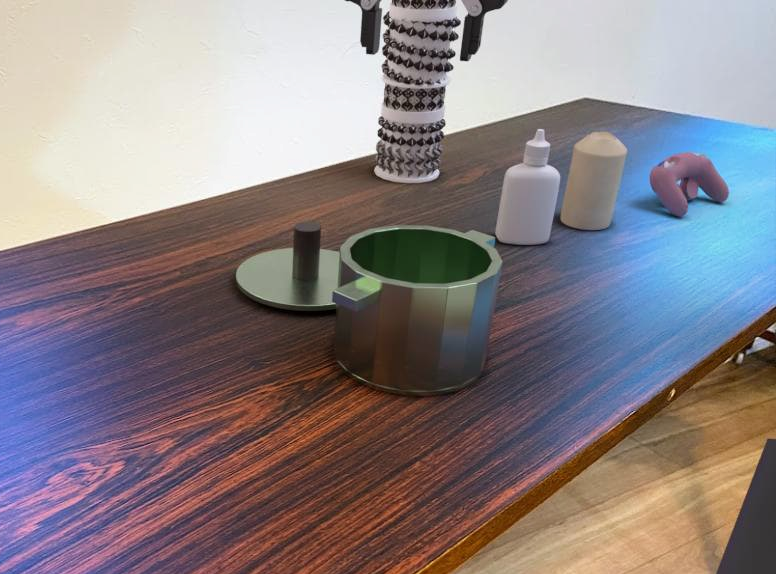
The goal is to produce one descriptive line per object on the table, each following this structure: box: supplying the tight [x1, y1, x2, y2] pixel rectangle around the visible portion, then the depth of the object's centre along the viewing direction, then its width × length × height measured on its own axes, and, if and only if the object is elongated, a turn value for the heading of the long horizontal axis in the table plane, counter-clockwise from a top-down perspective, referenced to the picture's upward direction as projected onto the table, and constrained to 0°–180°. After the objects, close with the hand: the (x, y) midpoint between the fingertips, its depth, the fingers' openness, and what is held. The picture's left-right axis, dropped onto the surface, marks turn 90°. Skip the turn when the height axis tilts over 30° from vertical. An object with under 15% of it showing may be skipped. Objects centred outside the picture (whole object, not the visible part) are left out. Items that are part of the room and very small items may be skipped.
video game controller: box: [649, 151, 730, 218], centre depth 108 cm, size 10×5×7 cm, turn 124°
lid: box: [235, 221, 340, 312], centre depth 88 cm, size 14×14×6 cm
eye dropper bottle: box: [494, 128, 561, 246], centre depth 96 cm, size 4×6×12 cm
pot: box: [332, 224, 503, 397], centre depth 75 cm, size 13×18×10 cm
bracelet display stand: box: [373, 0, 462, 184], centre depth 112 cm, size 9×9×25 cm
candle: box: [560, 131, 628, 231], centre depth 101 cm, size 6×6×10 cm
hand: (417, 56), depth 82 cm, fingers open, 8 cm apart
